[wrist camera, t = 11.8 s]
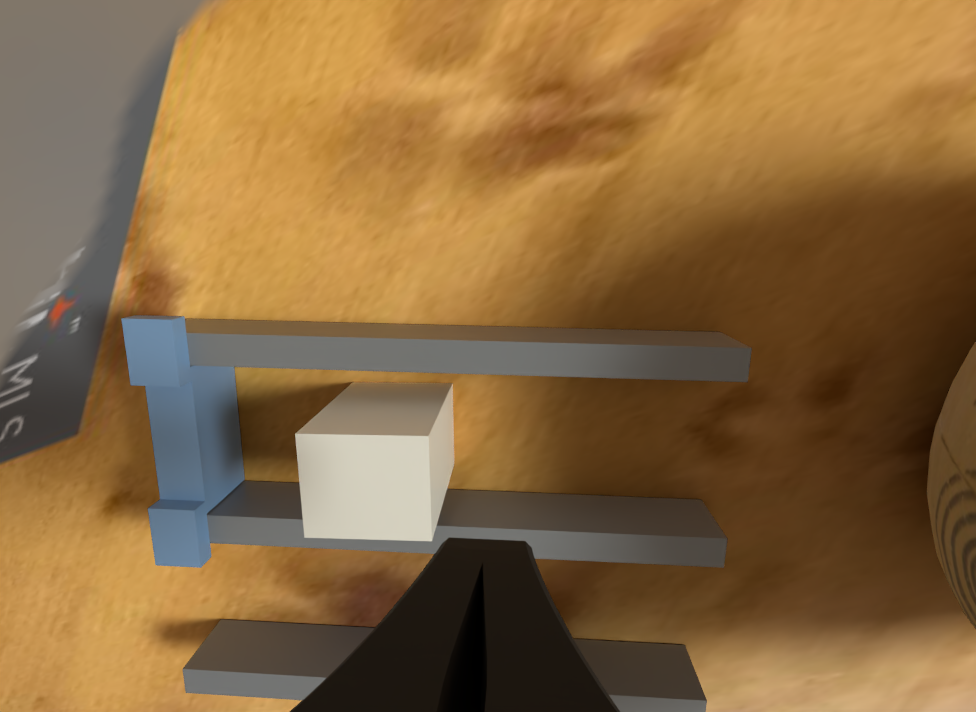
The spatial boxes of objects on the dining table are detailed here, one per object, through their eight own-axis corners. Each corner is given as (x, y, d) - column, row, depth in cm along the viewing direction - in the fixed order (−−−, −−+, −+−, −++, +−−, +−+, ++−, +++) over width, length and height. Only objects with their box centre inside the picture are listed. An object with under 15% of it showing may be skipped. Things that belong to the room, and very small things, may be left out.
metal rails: (223, 641, 22) (175, 707, 19) (185, 304, 19) (121, 318, 16) (682, 667, 21) (709, 741, 18) (722, 316, 18) (763, 334, 15)
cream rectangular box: (357, 461, 20) (304, 537, 15) (353, 382, 19) (295, 433, 14) (454, 463, 19) (431, 541, 15) (452, 383, 19) (428, 436, 14)
